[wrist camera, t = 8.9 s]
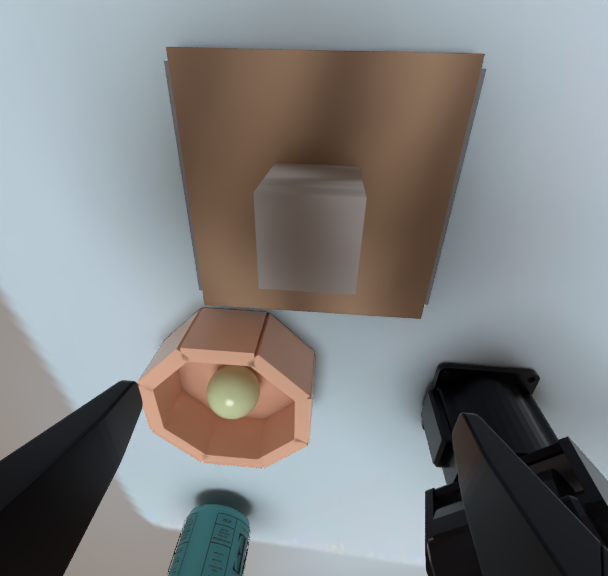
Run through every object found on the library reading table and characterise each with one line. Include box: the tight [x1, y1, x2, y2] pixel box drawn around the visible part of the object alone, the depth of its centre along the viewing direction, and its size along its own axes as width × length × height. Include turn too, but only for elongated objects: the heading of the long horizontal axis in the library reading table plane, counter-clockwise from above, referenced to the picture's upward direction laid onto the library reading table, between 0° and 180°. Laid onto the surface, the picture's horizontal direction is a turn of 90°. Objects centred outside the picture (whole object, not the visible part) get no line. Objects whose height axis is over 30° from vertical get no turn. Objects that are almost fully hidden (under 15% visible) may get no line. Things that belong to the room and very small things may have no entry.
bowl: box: [137, 308, 315, 468], centre depth 24 cm, size 11×11×4 cm
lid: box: [166, 47, 485, 319], centre depth 16 cm, size 13×13×6 cm
